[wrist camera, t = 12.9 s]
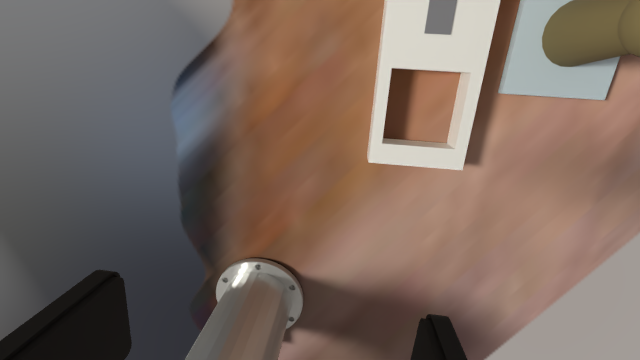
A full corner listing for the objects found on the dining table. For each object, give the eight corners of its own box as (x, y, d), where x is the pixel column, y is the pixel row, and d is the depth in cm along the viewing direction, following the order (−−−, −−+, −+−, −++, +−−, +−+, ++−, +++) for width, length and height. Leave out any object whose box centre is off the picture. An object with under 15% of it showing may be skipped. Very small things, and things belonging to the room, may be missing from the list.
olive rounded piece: (617, -7, 28) (771, -53, 18) (604, 63, 30) (737, 58, 20) (546, 2, 29) (653, -37, 19) (538, 70, 31) (631, 69, 20)
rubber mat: (597, 99, 32) (604, 100, 31) (497, 92, 33) (502, 93, 32) (644, -37, 28) (654, -40, 27) (530, -40, 29) (536, -44, 28)
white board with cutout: (453, 162, 36) (462, 170, 33) (367, 155, 36) (368, 162, 34) (508, -94, 28) (526, -113, 25) (395, -96, 28) (400, -116, 25)
